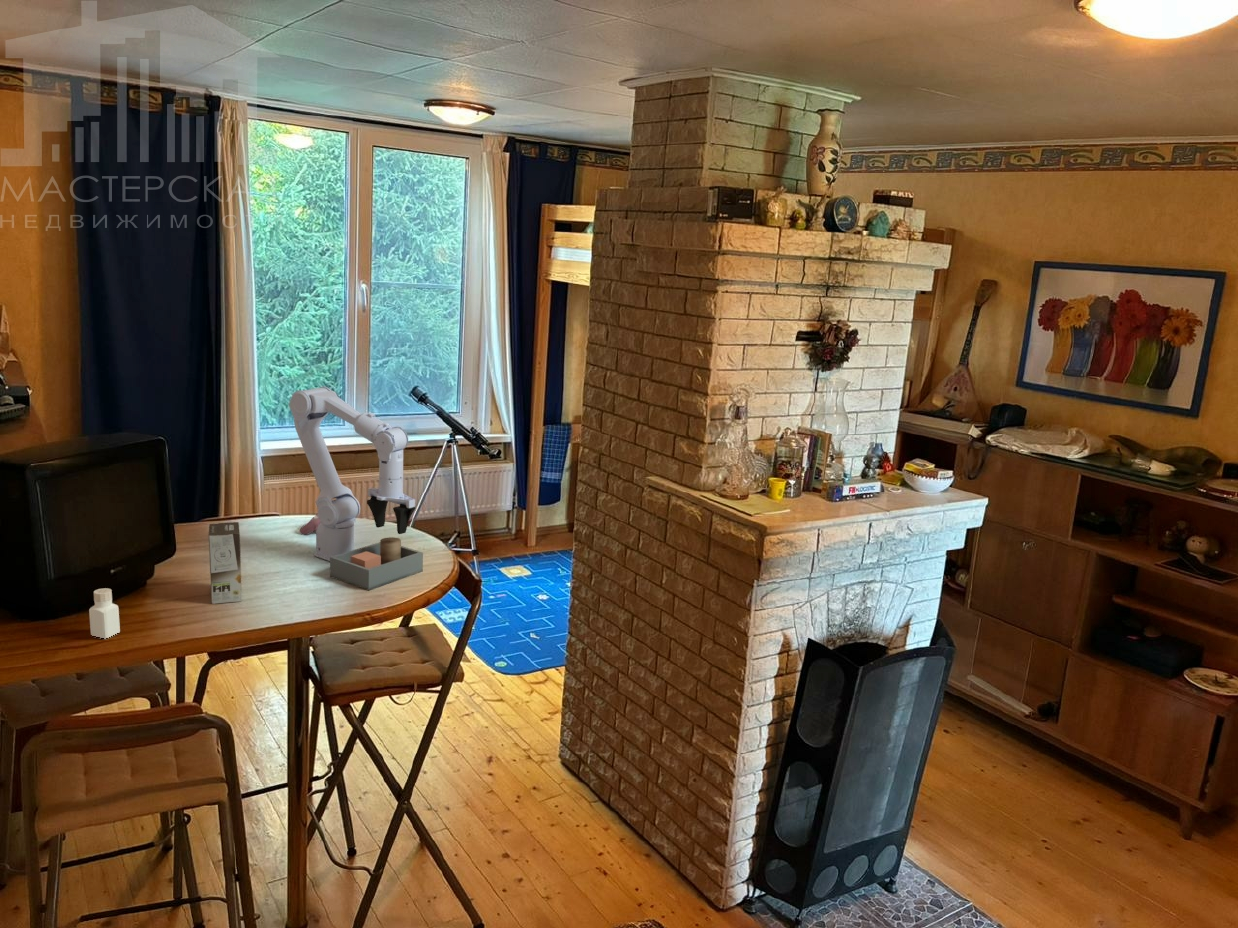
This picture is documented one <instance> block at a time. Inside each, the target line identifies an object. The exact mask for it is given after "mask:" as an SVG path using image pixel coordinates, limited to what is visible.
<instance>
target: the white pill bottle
mask: <svg viewBox="0 0 1238 928" xmlns="http://www.w3.org/2000/svg"><path fill="white" fill-rule="evenodd" d="M112 591H113V590H112V589H111V588H108V587H107V588H106V587H105V588H98V589H95V590H94V591H93V601H94V605H92V606H90V608H89V610H88V612H89V613H88V615H89V625H90V626H89V628H90V635H92V636H96V637H100V638H99V639H101V638H104V639H103V640H107V639H106V638H108V639H110V638H112V637H114V636H116V635H118V634H117V633H120V632H121V628H120V627H121V624H120V615H119V614H120V611H119V610H120V609H119V605H118V604H115V603H114V602H113V593H112ZM115 634H116V635H115ZM113 635H114V636H113ZM92 636H91V637H92ZM111 636H112V637H111ZM96 637H95V638H96ZM109 637H110V638H109Z"/></svg>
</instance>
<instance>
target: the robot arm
mask: <svg viewBox="0 0 1238 928" xmlns="http://www.w3.org/2000/svg"><path fill="white" fill-rule="evenodd" d="M337 394H338V393H337V392H336V391H334V390H332V389H330V388H329V387H327V386H320V387H316V388H310V389H305V390H296V391H295V392H293V393H292V395H291V398H290V399H289V403H288V407H289V409H290V412H291V414H292V417H293V421H294V428H295V431H296V433H297V436H298V439H299V441H300V444H301V446H302V448H303V451H304V454H305V457H306V458H307V462H308V463H309V466H310V469H311V471H312V474H313V477H314V478H315V481H316V484H317V486H318V489H319V491H320V492H319V494H318V496H317V498H316V500H315V504H316V507H317V513H318V517H319V520H320V521H321V523H320V524H319V526H318V528H317V530H316V533H315V544H316V546H315V549H316V550H315V551H316V553H313V556H314V557H317V558H319V559H322V560H326V561H328V562H330V557H332V556H336V555H339V554H342V553H345V552H349V551H352V550H355V523H356V521H357V519H356V518H358V517H359V515H360V514H361V505H360V502H359V500H358V499H357V497H355V495H354V494H353V492H352V489H350V488H349V487H347V486H346V485H344V484H342V481H341V479H340V476H339V474H338V471H337V470H336V467H335V464H334V462H333V460H332V459H333V458H332V456H331V454H330V452H329V449H328V447H327V444H326V442H325V438H324V437H323V434H322V431H321V428H320V426H321V423H322V421H324V420H325V418H326V416H328V414H329V413H330V414H332V415H334V416H336V417H337V418H339V419H341V420H343V421H344V422H347V423H349V424H350V425H352V426H353V429H354V432H355V433H356V434H358V435H359V436H361V437H363V438H364V439H365V440H368V441H369V442H371V444H373V446H374V448H375V450H376V453H377V458H378V461H379V462H378V469H379V470H378V472H379V473H378V477H379V478H378V479H379V480H378V488H375V487H372V488H367V497H368V498H370V499H366V505H367V506H368V507H369V509H370V511H371V513H372V516H373V520H374V524H375V527H376V528H378V529H379V528H382V527H385V523H386V513H387V512H386V511H387V508H388V507H387V506H388V502H389V503H393V504H397V506H394V507H393V508H392V509H393V512H394V515H395V519H396V531H397V534H398V535H402V534H406V532H407V529H408V524H409V523H410V519H411V517H412V515H413V513H414V512H415V510H416V498H412V497H410V496H409V495H407V494H405V493H404V449H406V448H407V446H408V444H409V437H408V433H407V432H406V431H405V429H403V428H402V427H401V426H391V425H390V423H388V422H385V421H382V420H381V419H379V418H378V417H376V413H373V412H364V413H361V412H360V411H358V410H357V409H355V408H354V407H353V406H352V405H350V404H349V403H348V402H346V401H344V400H343V399H342V398H340V397H339V396H338V395H337Z"/></svg>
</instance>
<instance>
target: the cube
mask: <svg viewBox="0 0 1238 928" xmlns="http://www.w3.org/2000/svg"><path fill="white" fill-rule="evenodd" d="M351 563H353V564H356V565H359V566H362V567H365V568H368V569H370V568H373V567H376V566H379V565H381V556H380V555H377V554H373V553H370V552H367V551H366V552H363V553H359V554H356V555H353V556H351Z"/></svg>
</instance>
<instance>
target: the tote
mask: <svg viewBox="0 0 1238 928" xmlns="http://www.w3.org/2000/svg"><path fill="white" fill-rule="evenodd" d="M366 551H367V552H370V553H373V554H377V555H380V541H379V542H376V543H372V544H369V545H366V546H363V547H359V548H356V549H355V548H354V550H352V551H349V552H345V553H342V554H339V555H336V556H332V557H330V561H329V576H330V578H333V579H335V580H338V581H341V582H344V583H346V584H347V583H348V584H350V585H352V586H355V587H357V588H361V589H364V590H366V591H372V590H374V589H377V588H381V587H383V586H386V585H389V584H391V583H394V582H396V581H399V580H402V579H406V578H408V577H410V576H411V577H412V576H414V575H416V574H420V573H423V571H424V570H423V568H424V552H423V551H419V550H416V549H412V548H409V547H406V546H404V545H403V546H402V545H401V558H400V559H397V560H394V561H391V562H388V563H385V564H382V565H379V566H376V567H373V568H370V569H368V568H365V567H362V566H359V565H356V564H353V563H351V556H353V555H356V554H359V553H363V552H366Z"/></svg>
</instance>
